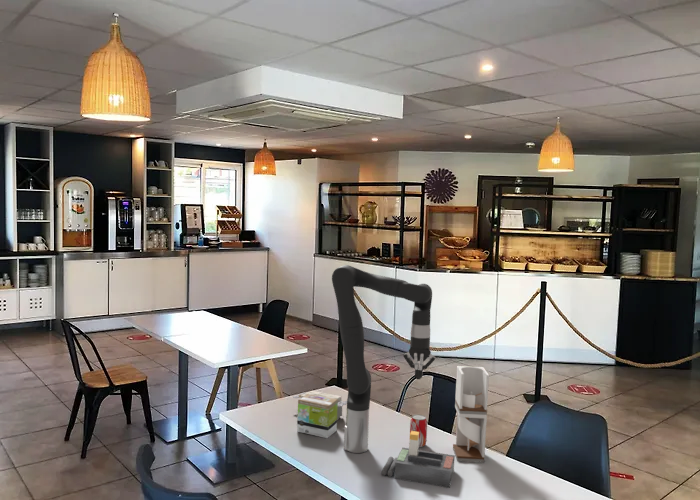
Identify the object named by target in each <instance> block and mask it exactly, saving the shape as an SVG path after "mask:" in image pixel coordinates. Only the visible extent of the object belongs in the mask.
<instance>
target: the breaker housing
mask: <svg viewBox="0 0 700 500" xmlns="http://www.w3.org/2000/svg"><path fill="white" fill-rule="evenodd" d="M396 458H397V460H396V462H395V471H394V479H396V480H402V481H407V482H414V483H420V484H426V485H432V486H437V487H444V488H448V489H449V488H451V483H452V480H453V479H452V478H453V476H454V471H455V460H456V457H455V454H454V455H453V454H447V453H443V452H442V453H441V452H436V451H435V452H434V451H428V450H421V449H418V456H413V455H409V447H402V448H401V449H400V451H399V454H398V455H397V457H396Z"/></svg>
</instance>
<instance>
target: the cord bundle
mask: <svg viewBox="0 0 700 500" xmlns="http://www.w3.org/2000/svg"><path fill="white" fill-rule="evenodd" d="M397 458H398V457H395V458H394V457H393V456H389V457H388V459H387V461H386V462H385V464H384V467H383V468H382V470H381V475H382V476H388V477H392V476H393V475H394V474H395V462H396V460H397Z"/></svg>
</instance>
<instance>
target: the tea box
mask: <svg viewBox="0 0 700 500" xmlns="http://www.w3.org/2000/svg"><path fill="white" fill-rule="evenodd" d="M337 408H338V399H334V398H329V397H324V396H319V395H313V394H307V395H305V396H304V397H302V398H299V399H298V400H297V417H296V418H297V421H296V422H297V424H296V432H297V433H303V434H308V435H311V436H316V437H321V438H324V439H328V438H330V437H331V436H332V435H333V434H334V433H335V432H336V431H337V425H338V420H337Z"/></svg>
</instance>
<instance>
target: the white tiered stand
mask: <svg viewBox="0 0 700 500" xmlns="http://www.w3.org/2000/svg"><path fill="white" fill-rule="evenodd" d="M489 381H490V375H489V373H488V371H487V370H486V369H485V367H484V366H468V365H467V366H466V365H464V366H463V365H457V366H456V381H455V396H454V398H455V401H454V408H455V410H456V413H457V416H456V437H455V444H454V443H453V444H452V451H453V453H454V455H455V460H456V462H469V463H470V462H471V463H485V453H486V440H487V439H486V437H487V436H486V435H487V418H488V417H487V416H488V398H489Z"/></svg>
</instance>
